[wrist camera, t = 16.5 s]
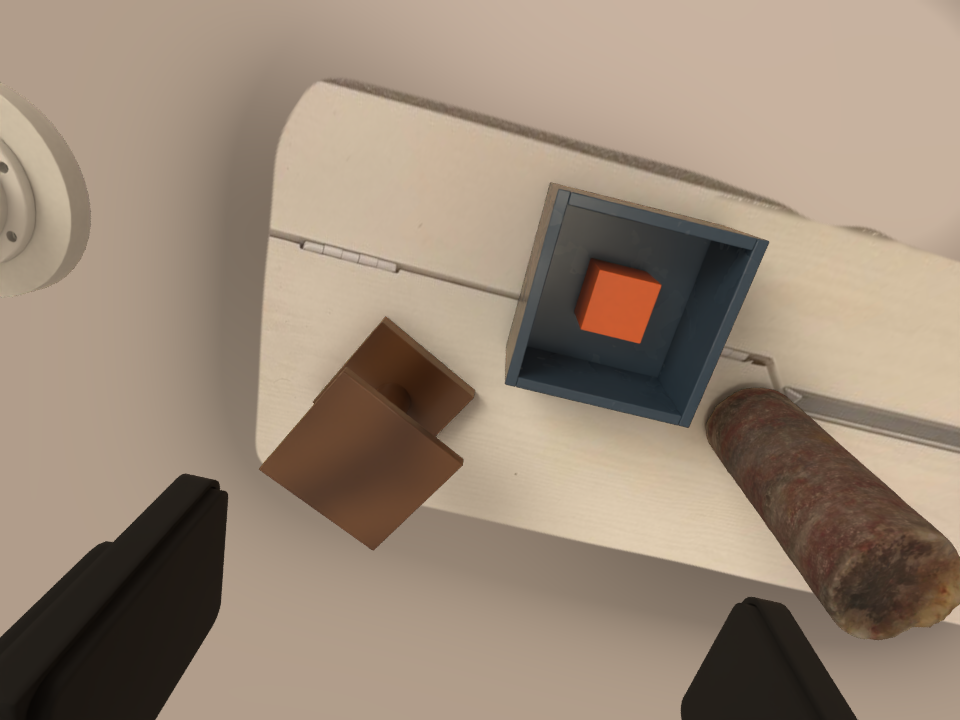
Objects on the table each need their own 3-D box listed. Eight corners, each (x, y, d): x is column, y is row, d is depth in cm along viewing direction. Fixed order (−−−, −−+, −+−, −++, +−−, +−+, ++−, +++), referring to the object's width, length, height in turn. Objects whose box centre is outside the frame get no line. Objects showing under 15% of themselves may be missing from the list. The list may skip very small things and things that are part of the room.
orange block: (573, 312, 42) (580, 329, 38) (590, 257, 41) (599, 269, 37) (627, 325, 43) (640, 344, 38) (646, 271, 41) (662, 284, 37)
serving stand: (318, 395, 47) (258, 469, 36) (385, 316, 44) (342, 370, 33) (404, 461, 49) (373, 551, 38) (475, 390, 46) (463, 465, 35)
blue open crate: (505, 347, 45) (504, 384, 37) (550, 182, 40) (558, 188, 32) (660, 384, 45) (689, 428, 38) (723, 225, 40) (770, 241, 33)
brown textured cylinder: (701, 384, 45) (835, 547, 26) (792, 373, 44) (997, 534, 25) (702, 461, 48) (824, 658, 29) (788, 452, 47) (970, 650, 28)
